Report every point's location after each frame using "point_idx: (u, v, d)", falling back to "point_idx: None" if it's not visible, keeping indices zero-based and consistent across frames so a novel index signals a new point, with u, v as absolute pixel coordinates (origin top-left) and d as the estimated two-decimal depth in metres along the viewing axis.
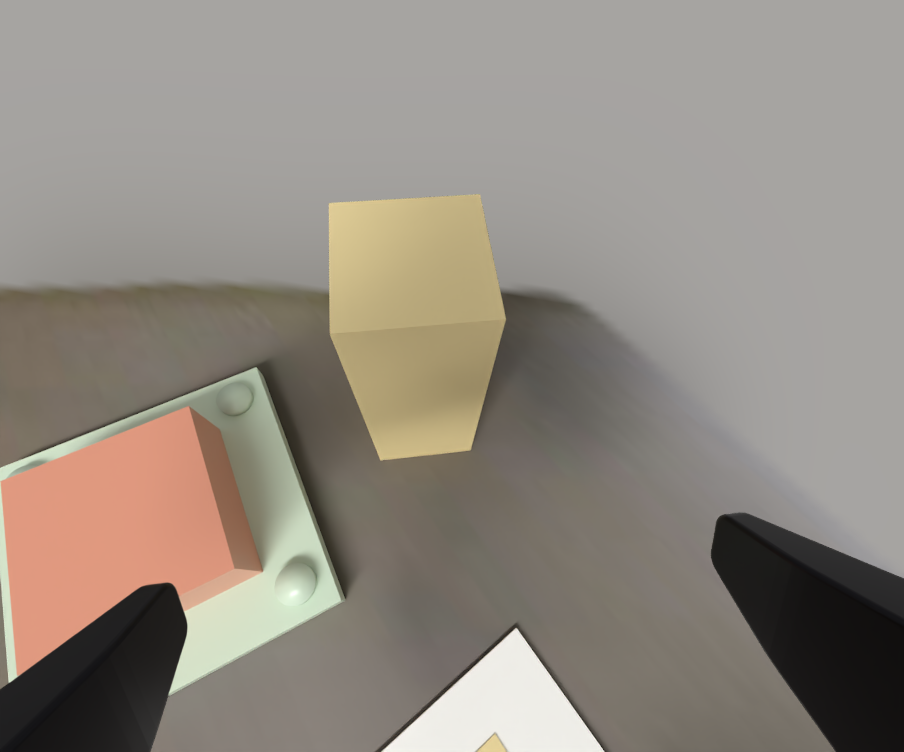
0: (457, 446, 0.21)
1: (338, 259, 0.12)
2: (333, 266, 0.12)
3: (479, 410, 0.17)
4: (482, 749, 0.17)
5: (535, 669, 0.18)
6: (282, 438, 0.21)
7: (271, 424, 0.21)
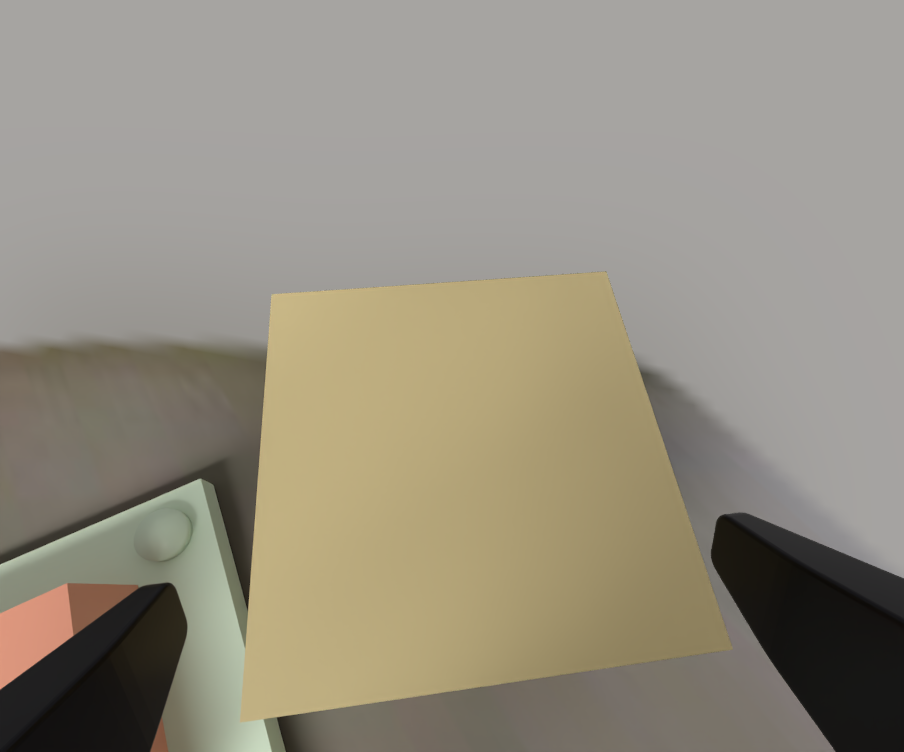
0: None
1: (282, 453, 0.05)
2: (268, 475, 0.05)
3: None
4: None
5: None
6: (233, 599, 0.14)
7: (217, 576, 0.14)
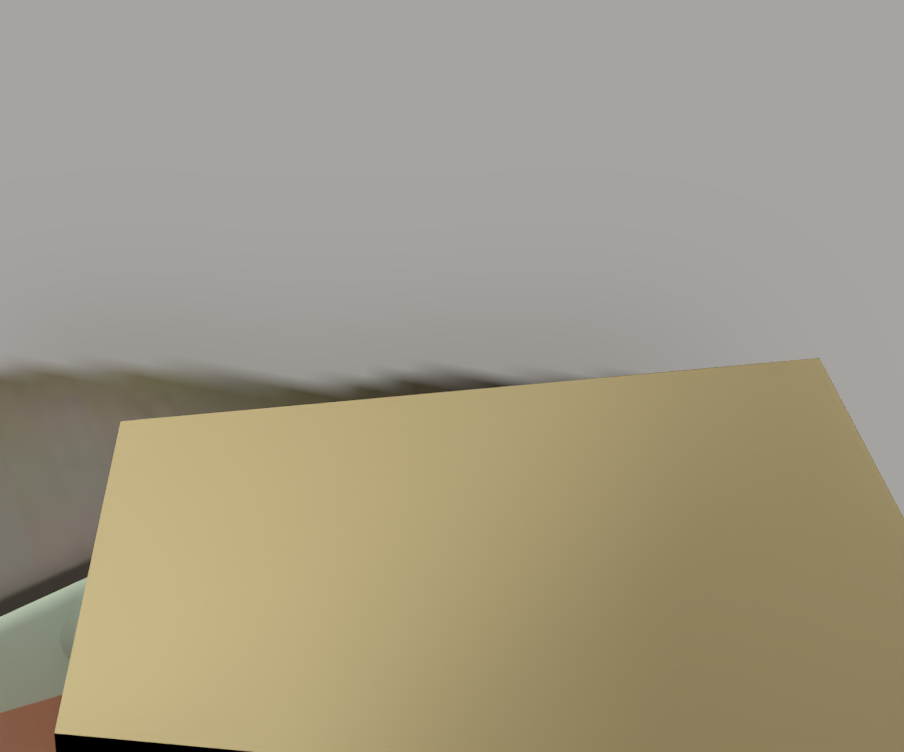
0: None
1: None
2: None
3: None
4: None
5: None
6: None
7: None
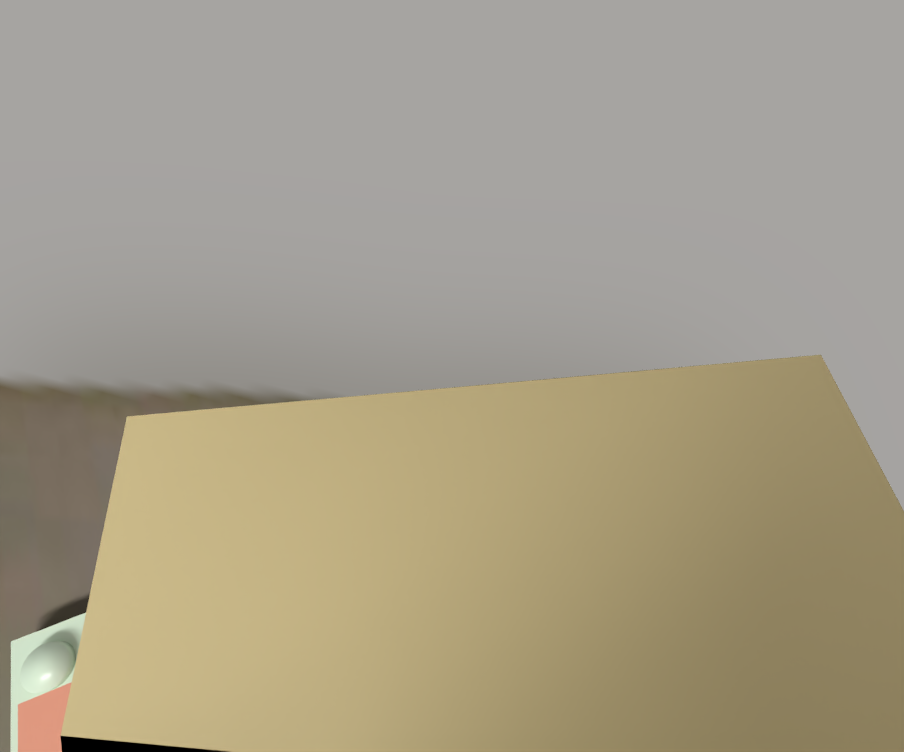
0: None
1: None
2: None
3: None
4: None
5: None
6: None
7: None
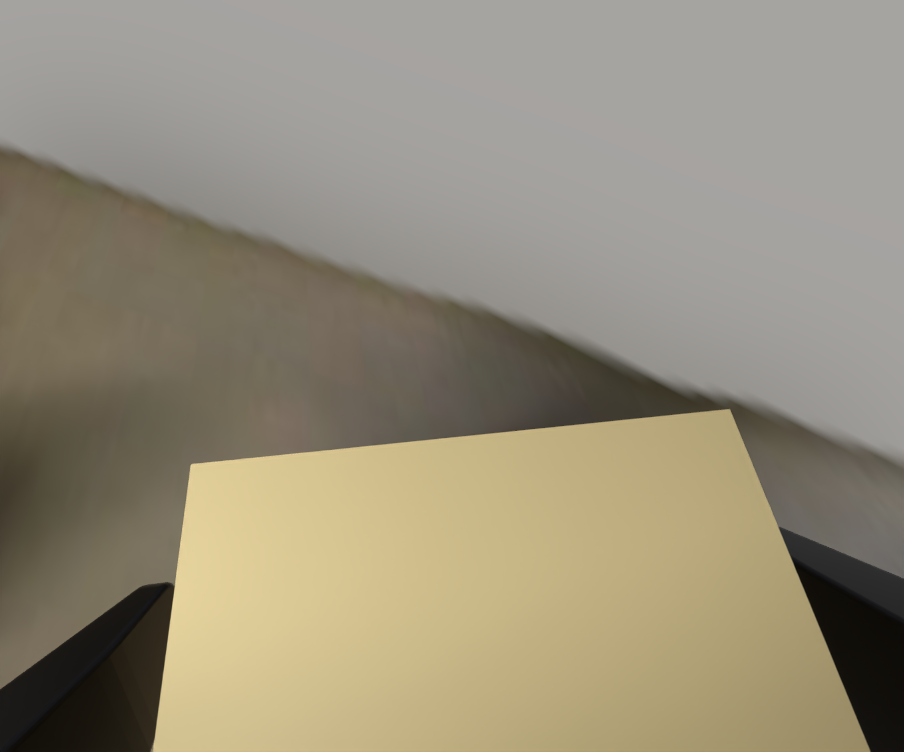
0: None
1: None
2: None
3: None
4: None
5: None
6: None
7: None
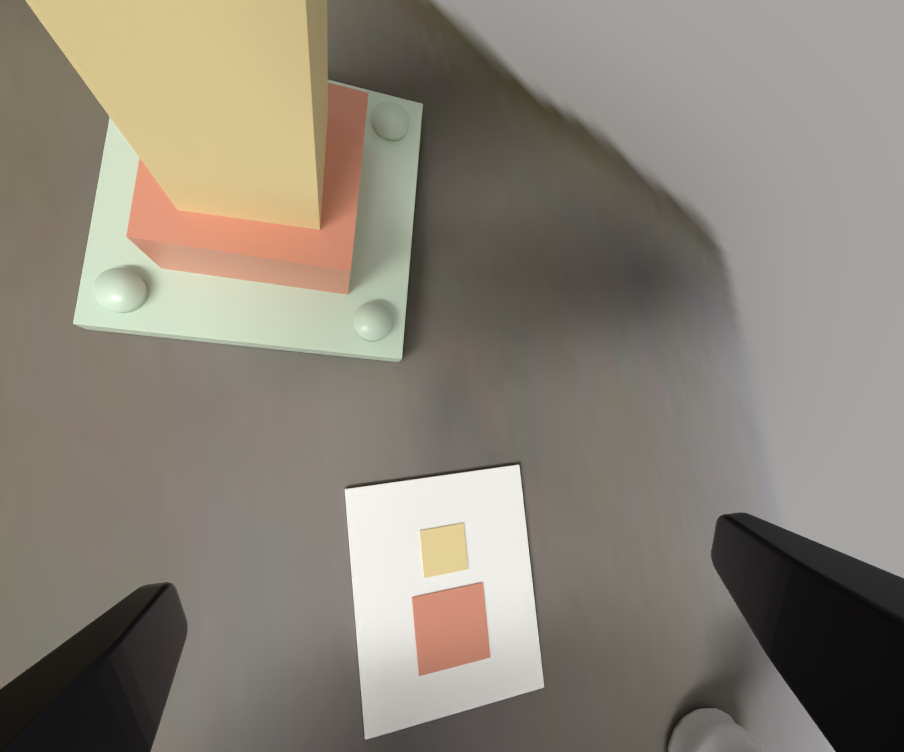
0: (296, 214, 0.15)
1: None
2: None
3: (310, 130, 0.10)
4: (448, 527, 0.20)
5: (516, 500, 0.21)
6: (415, 190, 0.20)
7: (411, 170, 0.20)
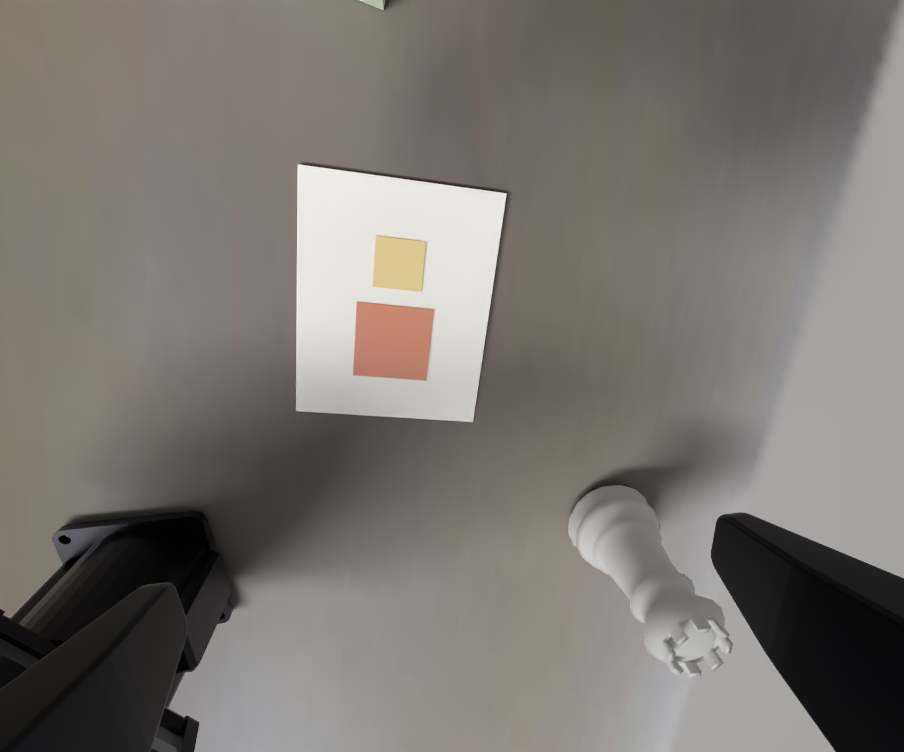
0: None
1: None
2: None
3: None
4: (408, 241, 0.18)
5: (492, 234, 0.18)
6: None
7: None
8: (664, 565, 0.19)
